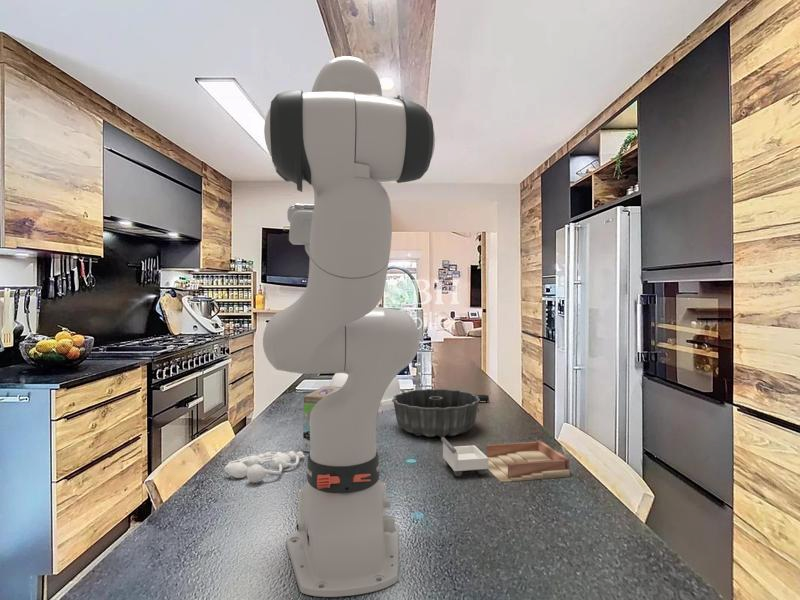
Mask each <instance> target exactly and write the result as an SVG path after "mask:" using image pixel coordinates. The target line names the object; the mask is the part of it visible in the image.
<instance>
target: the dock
mask: <svg viewBox="0 0 800 600" xmlns="http://www.w3.org/2000/svg"><path fill="white" fill-rule="evenodd" d="M485 446H486V448H485V449H486V450H485V455H486V456H487V457H488V469H487V470H488V471H489V473H491V474H492V475H493V476H494V477H495V478H496V479H497V481H499V482H500V483H508V482H520V481H533V480H546V479H547V480H548V479H555V478H556V479H558V478H569V477H571V471H570V458H568V457H567V456H565V455H564V454H562V453H561V452H559V451H558V450H556V449H554V448H553V447H552V446H550V445H549V444H546V443H545V442H543V441H542V440H540V439H539V440H538V439H537V440H535V441H524V442H523V441H522V442H508V443H493V444H492V443H491V444H486V445H485Z"/></svg>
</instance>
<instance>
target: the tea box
mask: <svg viewBox="0 0 800 600" xmlns="http://www.w3.org/2000/svg"><path fill="white" fill-rule="evenodd" d="M340 388H341V387H334V386H330V385H329V386H328V385H323V386H321V387H320V388H318V389H316V390H313V391H312V392H309V393H308V394H306V395H304V396H303V421H302V423H303V424H302V426H303V430H302V431H303V433H302V436H303V437H302V452H305V453H310V414H311V411H312V409H313V407H314V406H315V405H316V403H317V402H318V401H320V400H321V399H322V398H324V397H325V396H327V395H329V394H331V393H333V392H335V391H337V390H338V389H340Z"/></svg>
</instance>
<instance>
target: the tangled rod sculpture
mask: <svg viewBox="0 0 800 600" xmlns="http://www.w3.org/2000/svg"><path fill="white" fill-rule="evenodd" d="M305 457H306V456H305V455H304V451H297V452H295V451H294V450H290V451H288V452H282V451H281V452H280V451H277V452H276V451H268V452H265V453H259V454H258V455H253V454H252V455H250V456H245V457H243V458H239V459H236V460H232V461H228V463H227V464H226V465H225V466H224V471H225V472H226V473H227V474H228V475H231V476H232V477H234V479H235V478H236V479H242V478H245V477H247V478H246V479H248V481H249V482H250V483H256V484H257V483H259V482H261V481H262V480H263V479H264V477H265V476H266V475H265V474H267V475H268V474H269V475H280V474H282V472H283V469H286V468H288V467H292V468H293V467H297V466H298V465H299V462H300V459H303V458H305ZM295 459H296V460H295ZM291 460H292V461H293V460H295V462H294V463H292V462H291ZM265 463H269V467H270V468H271V469H273V470H271V469H265V468H264V466H263V465H264V464H265Z"/></svg>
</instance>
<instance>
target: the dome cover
mask: <svg viewBox="0 0 800 600" xmlns="http://www.w3.org/2000/svg"><path fill="white" fill-rule="evenodd" d="M347 378H348V374H346V373H334V375H333V377H331V380H330V384H329V386H334V387H342V386H343V385H344V384H345V382H346V381H347ZM400 386H401V385H400V382H399V379H398V377H397V375H396V376H395V378H394V379H393V380H392V381H391V383H390V384H389V386H388V387H387V389H386V391H385V393H384V395H383V397H382V399H381V402H380V406H379V410H378V413H383V412H386V411H385V410H387V411H391V410H390V409H392V410H395V409H394V408H395V407H394V402H392V399H393V397H394V396H395V395H397V394H401V393H402V392H403V391H401V387H400ZM382 411H383V412H382Z"/></svg>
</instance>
